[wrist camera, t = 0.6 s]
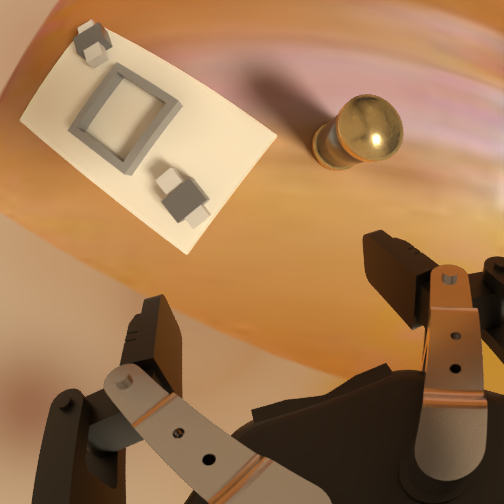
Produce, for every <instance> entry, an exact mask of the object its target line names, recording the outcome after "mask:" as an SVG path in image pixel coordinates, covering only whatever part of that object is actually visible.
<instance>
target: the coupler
mask: <svg viewBox="0 0 504 504" xmlns="http://www.w3.org/2000/svg"><path fill="white" fill-rule="evenodd" d="M402 140H403V125H402V121H401V119H400V116H399V114H398V113H397V111H396V110H395V109H394V107H393V106H392V105H391V104H390V103H388V102H387V101H386V100H384V99H383V98H380V97H378V96H375V95H369V94H365V95H359V96H356V97H354V98H353V99H351V100H350V101H349V102H348V103H346V104H345V105H344V106H343V107H342V108H341V110H340V111H339V113H338V115H337V116H336V117H334V118H333V119H332V120H331V121H330V122H327V123H325V124H323V125H322V126H321V127H320V128H319V129H318V130H317V131H316V132H315V134H314V136H313V138H312V152H313V155H314V157H315V158H316V160H317V161H318V162H319V163H320V164H321V165H322V166H323V167H325V168H327V169H330V170H335V171H339V170H344V169H348V168H350V167H352V166H353V165H355V164H358V163H362V162H377V161H381V160H385V159H387V158H390V157H391V156H393V155H394V154H395V153H396V152H397V151H398V149H399V148H400V146H401V143H402Z"/></svg>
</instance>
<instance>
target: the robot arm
mask: <svg viewBox="0 0 504 504" xmlns="http://www.w3.org/2000/svg"><path fill="white" fill-rule="evenodd" d="M363 253H364V267H365V273H366V277H367V279H368V281H369V283H370V284H371V285H372V286H373V287H374V288H375V289H376V290H377V291H378V292H379V294H380V295H381V296H382V297H383V298H384V299H385V300H386V301H387V302H388V303H389V305H390V306H391V307H392V308H393V309H394V310H395V311H396V312H397V314H398V315H399V316H400V317H401V318H402V319H403V320H404V321H405V323H406V324H407V325H408V326H409V327H410V328H411V329H412V330H414V329H416V328H418V327H420V326H422V325H423V326H424V327H425V332H424V342H423V352H422V360H421V368H420V371H417V370H398V371H391V369H390V368H389V366H388V365H387V363H385V364H382V365H380V366H378V367H375V368H373V369H370V370H368V371H366V372H363V373H361V374H358V375H356V376H354V377H353V378H351V379H350V380H348V381H347V382H345V383H343V384H342V385H340V386H339V387H337V388H336V389H334V390H332V391H331V392H329V393H327V394H326V395H322V396H316V397H307V398H300V399H290V400H284V401H281V402H277V403H274V404H271V405H267V406H263V407H260V408H256V409H252V410H251V411H252V416H253V420H252V421H250V422H248V423H246V424H245V425H244V426H242V427H240V428H239V429H238V430H236V431H235V432H234V433H233V434H232V435H231V436H230V435H228V434H227V433H226V432H224V431H223V430H222V429H220V428H219V427H218V426H216V425H215V424H213V423H212V422H211V421H210V420H208V419H207V418H206V417H204V416H203V415H202V414H200V413H199V412H198V411H197V410H195V409H194V408H193V407H192V406H190V405H189V404H188V403H187V402H185V401H184V400H183V399H182V336H181V332H180V329H179V326H178V324H177V322H176V320H175V317H174V315H173V313H172V311H171V309H170V307H169V304H168V302H167V300H166V298H165V296H164V295H163V294H161V295H158V296H154V297H151V298H147V299H145V300H144V303H143V307H142V312H141V314H137V315H135V316H134V318H133V319H132V321H131V322H130V323H129V326H128V330H127V335H126V339H125V342H126V343H124V348H123V352H122V357H121V362H120V366H119V367H117V368H115V369H114V370H112V371H111V372H110V373H109V374H108V376H107V377H106V379H105V381H104V389H102V390H100V391H97V392H95V393H93V394H91V395H88V396H86V397H85V396H84V395H83V394H82V393H81V391H79V390H77V389H68V390H65V391H63V392H61V393H60V394H59V395H58V396H57V397H56V398H55V399H54V400H53V402H52V404H51V407H50V411H49V414H48V418H47V423H46V427H45V431H44V435H43V440H42V445H41V449H40V454H39V460H38V466H37V471H36V476H35V483H34V489H33V497H32V504H126V487H125V486H126V484H125V482H126V480H125V462H126V461H125V460H126V459H125V458H126V457H125V456H126V447H128V446H130V445H132V444H135V443H137V442H139V441H141V440H145V441H146V442H147V443H148V444H149V445H150V446H151V448H152V449H153V450H154V451H155V452H156V453H157V454H158V455H159V456H160V457H161V458H162V459H163V460H164V461H165V462H166V463H167V464H168V465H169V466H170V467H171V468H172V469H173V470H174V471H175V472H176V473H177V474H178V475H179V476H180V477H181V478H182V479H183V480H184V481H185V482H186V483H187V484H188V485H189V486H190V487H191V488H192V489H193V492H192V493H191V494H190V496H189V497H188V499H187V500H186V502H185V503H184V504H504V395H502V394H498V393H494V392H491V391H487V390H484V380H483V355H482V342H481V338H482V340H483V341H484V342H485V343H486V344H487V345H488V346H489V348H490V349H492V351H493V352H494V353H495V354H496V355H497V357H498V358H499V359H500V360H501V361H502V362H503V364H504V257H491V258H488V259H487V260H486V261H485V263H484V268H483V272H478V273H472V274H467V272H466V271H465V270H464V269H462V268H461V267H458V266H455V265H441V266H439V265H438V264H437V263H435V262H434V261H433V260H431V259H430V258H429V257H427V256H426V255H425V254H423V253H420V251H419V250H418V249H416V248H414V246H412V245H411V244H410V243H408V242H407V241H404V240H401V239H398V238H392V237H391V236H390V235H388V234H387V233H385V232H384V231H383V230H378V231H374V232H371V233H368V234H365V235H364V236H363ZM86 450H87V451H86Z"/></svg>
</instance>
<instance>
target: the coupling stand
mask: <svg viewBox="0 0 504 504" xmlns="http://www.w3.org/2000/svg"><path fill="white" fill-rule="evenodd" d="M78 32H79V34H78V35H77V36H75V37H74V38H73V42H72V43H71V44H70V45H69V47H68V48H67V49H66V50H65V52H64V53H63V54H62V56H61V57H60V58H59V60H58V61H57V63H56V64H55V65H54V67H53V68H52V69H51V71H50V72H49V74H48V75H47V77H46V78H45V80H44V81H43V83H42V84H41V86H40V87H39V89H38V90H37V92H36V93H35V95H34V97H33V98H32V100H31V101H30V103H29V105H28V106H27V108H26V110H25V111H24V113H23V115H22V117H21V118H20V120H19V121H21V122H22V123H23V124H24V125H25V126H26V127H28V128H29V129H30V130H31V131H32V132H33V133H34V134H36V135H37V136H38V137H39V138H40V139H41V140H43V141H44V142H45V143H46V144H47V145H49V146H50V147H51V148H52V149H53V150H55V151H56V152H57V153H58V154H59V155H60V156H62V157H63V158H64V159H65V160H66V161H68V162H69V163H70V164H71V165H73V166H74V167H75V168H76V169H77V170H79V171H80V172H81V173H82V174H84V175H85V176H86V177H87V178H88V179H90V180H91V181H92V182H93V183H95V184H96V185H97V186H98V187H100V188H101V189H102V190H103V191H105V192H106V193H107V194H108V195H110V196H111V197H112V198H113V199H115V200H116V201H117V202H118V203H120V204H121V205H122V206H123V207H125V208H126V209H127V210H129V211H130V212H131V213H132V214H134V215H135V216H136V217H138V218H139V219H140V220H141V221H143V222H144V223H145V224H147V225H148V226H149V227H150V228H152V229H153V230H154V231H156V232H157V233H158V234H160V235H161V236H162V237H164V238H165V239H166V240H167V241H169V242H170V243H171V244H173V245H174V246H175V247H177V248H178V249H179V250H181V251H182V252H183V253H185V254H186V255H187V254H188V253H189V252H190V251H191V249H192V248H193V246H194V245H195V244H196V242H197V241H198V240H199V238H200V237H201V235H202V234H203V233H204V231H205V230H206V229H207V227H208V226H209V225H210V223H211V222H212V221H213V219H214V218H215V216H216V215H217V214H218V212H219V211H220V210H221V208H222V207H223V206H224V204H225V203H226V202H227V200H228V199H229V198H230V196H231V195H232V194H233V193H234V191H235V190H236V189H237V187H238V186H239V185H240V183H241V182H242V181H243V179H244V178H245V177H246V176H247V174H248V173H249V172H250V170H251V169H252V168H253V167H254V165H255V164H256V163H257V161H258V160H259V159H260V158H261V156H262V155H263V154H264V153H265V151H266V150H267V149H268V147H269V146H270V145H271V144H272V142H273V141H274V140H275V139H276V137H277V135H276V134H275V133H273V132H272V131H270V130H269V129H268V128H266V127H265V126H264V125H262V124H261V123H260V122H258V121H257V120H255V119H254V118H253V117H251V116H250V115H248V114H247V113H245V112H244V111H243V110H241V109H240V108H238V107H237V106H235V105H234V104H232V103H231V102H229V101H228V100H227V99H225V98H224V97H222V96H221V95H219V94H218V93H216V92H214V91H213V90H211V89H210V88H208V87H207V86H205V85H204V84H202V83H201V82H199V81H197V80H196V79H194V78H193V77H191V76H189V75H188V74H186V73H185V72H183V71H181V70H180V69H178V68H176V67H175V66H173V65H171V64H170V63H168V62H166V61H165V60H163V59H161V58H159V57H158V56H156V55H154V54H152V53H151V52H149V51H147V50H145V49H144V48H142V47H140V46H138V45H136V44H134V43H133V42H131V41H129V40H127V39H125V38H123V37H121V36H119V35H118V34H116V33H114V32H112V31H110V30H108V29H106V28H104V27H103V26H102V25H101V24H100V23H99V22H98V23H97V24H96V23H95V22H94V21H93V20H90V21H88V22H86V23H85V24H83V25H82V26H80V27H78Z"/></svg>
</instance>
